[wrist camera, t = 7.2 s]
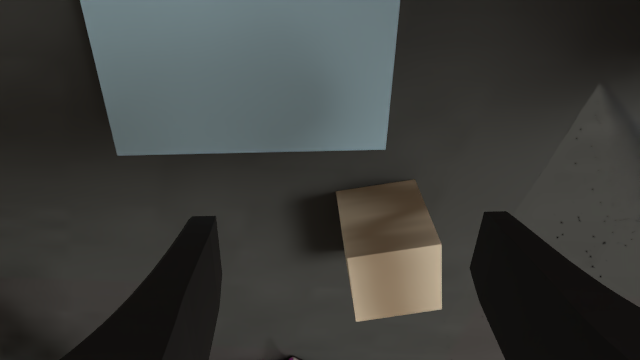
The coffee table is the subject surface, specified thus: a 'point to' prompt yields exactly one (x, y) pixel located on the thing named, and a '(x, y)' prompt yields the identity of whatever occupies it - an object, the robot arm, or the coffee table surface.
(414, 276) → the beech block
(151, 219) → the coffee table surface
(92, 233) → the coffee table surface
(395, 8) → the book
